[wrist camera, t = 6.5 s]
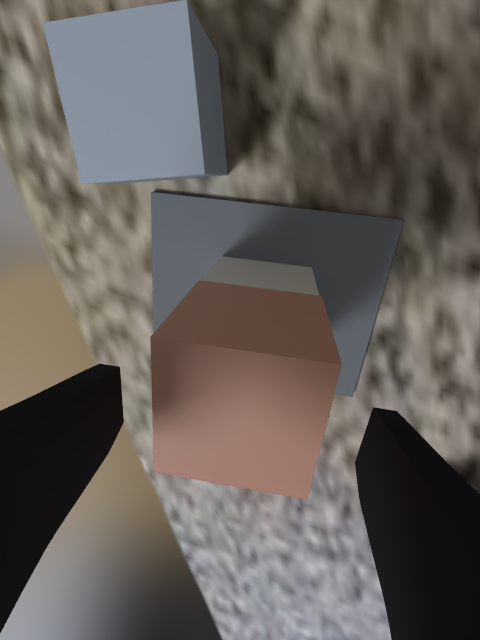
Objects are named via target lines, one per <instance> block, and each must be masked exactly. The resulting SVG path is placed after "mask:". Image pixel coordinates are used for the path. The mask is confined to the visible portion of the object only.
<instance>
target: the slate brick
mask: <svg viewBox="0 0 480 640" xmlns="http://www.w3.org/2000/svg"><path fill="white" fill-rule="evenodd" d="M43 26H44V30H45V35H46V39H47V43H48V47H49V51H50V55H51V59H52V64H53V68H54V72H55V76H56V80H57V84H58V89H59V93H60V97H61V101H62V105H63V109H64V113H65V118H66V122H67V126H68V130H69V134H70V138H71V142H72V147H73V151H74V155H75V159H76V163H77V167H78V171H79V176H80V180H81V184H103V183H131V182H146V181H159V180H172V179H184V178H197V177H209V176H222V175H227V162H226V149H225V136H224V123H223V111H222V98H221V85H220V72H219V60H218V54H217V52H216V50H215V49H214V47H213V45H212V43H211V41H210V40H209V38H208V36H207V34H206V33H205V31H204V29H203V27H202V25H201V24H200V22H199V20H198V18H197V17H196V15H195V13H194V11H193V9H192V8H191V6H190V4H189V2H188V1H187V0H180V1H174V2H168V3H161V4H155V5H149V6H143V7H137V8H131V9H125V10H118V11H112V12H106V13H100V14H94V15H88V16H82V17H75V18H69V19H63V20H57V21H51V22H45V23H43Z"/></svg>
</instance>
